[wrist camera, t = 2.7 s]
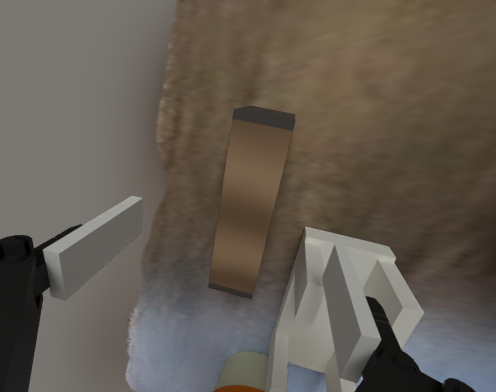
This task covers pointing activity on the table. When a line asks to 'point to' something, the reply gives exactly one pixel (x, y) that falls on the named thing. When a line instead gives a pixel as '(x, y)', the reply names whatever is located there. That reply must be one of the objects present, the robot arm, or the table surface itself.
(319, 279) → the post stand
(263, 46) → the table surface
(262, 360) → the reusable coffee cup
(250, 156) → the rail
